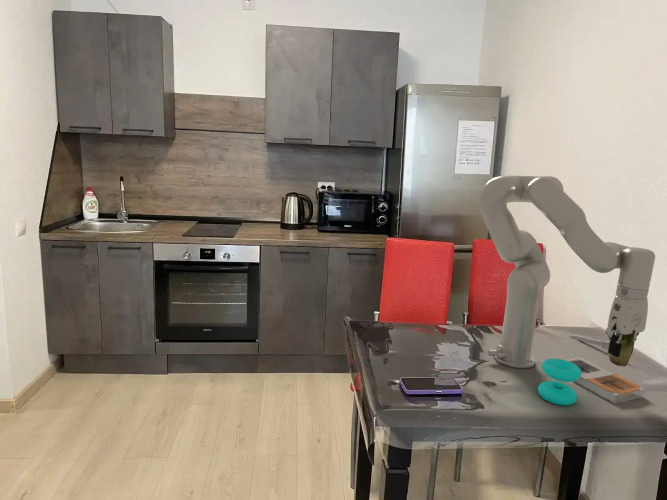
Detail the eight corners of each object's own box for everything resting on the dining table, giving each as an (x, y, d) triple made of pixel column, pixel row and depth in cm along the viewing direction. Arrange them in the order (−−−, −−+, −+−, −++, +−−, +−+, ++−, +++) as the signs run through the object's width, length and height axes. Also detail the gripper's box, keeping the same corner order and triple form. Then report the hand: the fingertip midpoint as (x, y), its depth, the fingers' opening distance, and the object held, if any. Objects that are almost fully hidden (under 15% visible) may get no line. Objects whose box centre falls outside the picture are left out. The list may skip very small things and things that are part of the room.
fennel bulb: (630, 370, 140) (639, 329, 138) (611, 367, 141) (619, 327, 139) (623, 361, 146) (631, 322, 143) (605, 359, 147) (612, 320, 144)
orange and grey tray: (614, 403, 138) (615, 394, 138) (551, 368, 158) (552, 360, 157) (643, 397, 143) (645, 388, 143) (578, 364, 163) (580, 356, 162)
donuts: (534, 357, 140) (564, 355, 143) (529, 390, 143) (558, 387, 146) (560, 374, 131) (591, 371, 134) (553, 408, 133) (584, 405, 136)
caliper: (620, 360, 169) (624, 342, 167) (618, 360, 168) (622, 343, 167) (571, 336, 187) (574, 321, 185) (569, 337, 186) (572, 321, 185)
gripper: (623, 298, 132) (611, 363, 136) (665, 294, 139) (652, 355, 143) (598, 290, 139) (587, 352, 143) (639, 286, 146) (627, 345, 150)
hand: (619, 353), depth 143 cm, fingers closed on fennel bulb, 4 cm apart
